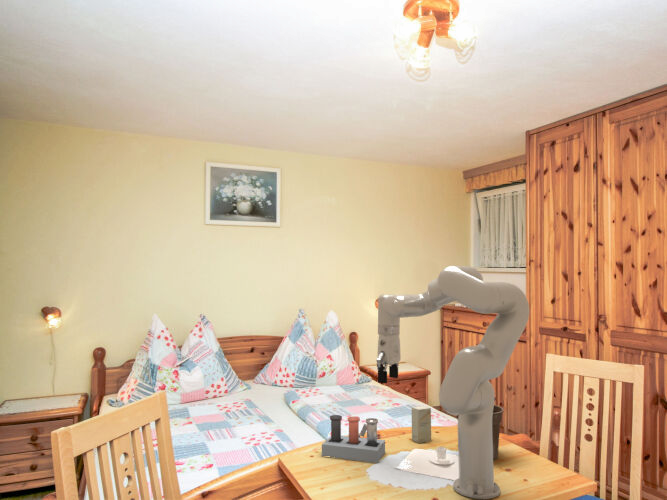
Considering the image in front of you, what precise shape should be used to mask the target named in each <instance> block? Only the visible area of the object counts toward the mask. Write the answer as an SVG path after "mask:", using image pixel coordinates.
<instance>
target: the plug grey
mask: <svg viewBox="0 0 667 500" xmlns="http://www.w3.org/2000/svg"><path fill="white" fill-rule="evenodd" d="M365 424H367V430H366V438H367V445H370V446H375V445H377V439H378V424H379V419H378V418H374V417H373V418H370V417H369V418H366V419H365Z"/></svg>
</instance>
